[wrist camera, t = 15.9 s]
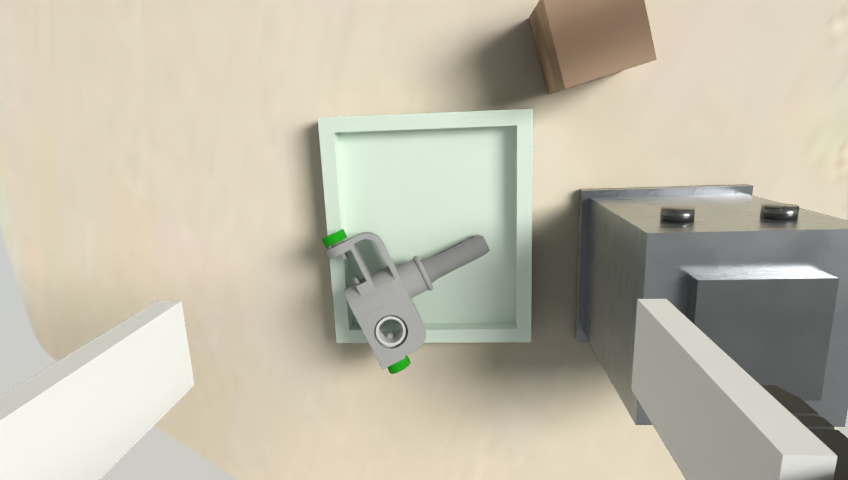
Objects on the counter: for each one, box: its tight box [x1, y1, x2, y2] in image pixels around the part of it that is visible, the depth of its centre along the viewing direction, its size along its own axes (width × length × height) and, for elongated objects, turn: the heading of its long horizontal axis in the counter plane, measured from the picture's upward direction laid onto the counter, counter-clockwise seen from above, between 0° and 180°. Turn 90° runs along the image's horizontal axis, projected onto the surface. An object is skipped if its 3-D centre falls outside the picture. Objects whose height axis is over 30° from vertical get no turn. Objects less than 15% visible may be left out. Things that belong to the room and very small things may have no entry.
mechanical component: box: [322, 229, 490, 374], centre depth 35 cm, size 3×10×10 cm
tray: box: [318, 109, 533, 343], centre depth 36 cm, size 16×14×2 cm
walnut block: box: [529, 0, 657, 94], centre depth 30 cm, size 5×5×6 cm
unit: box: [576, 184, 848, 427], centre depth 30 cm, size 11×11×13 cm
